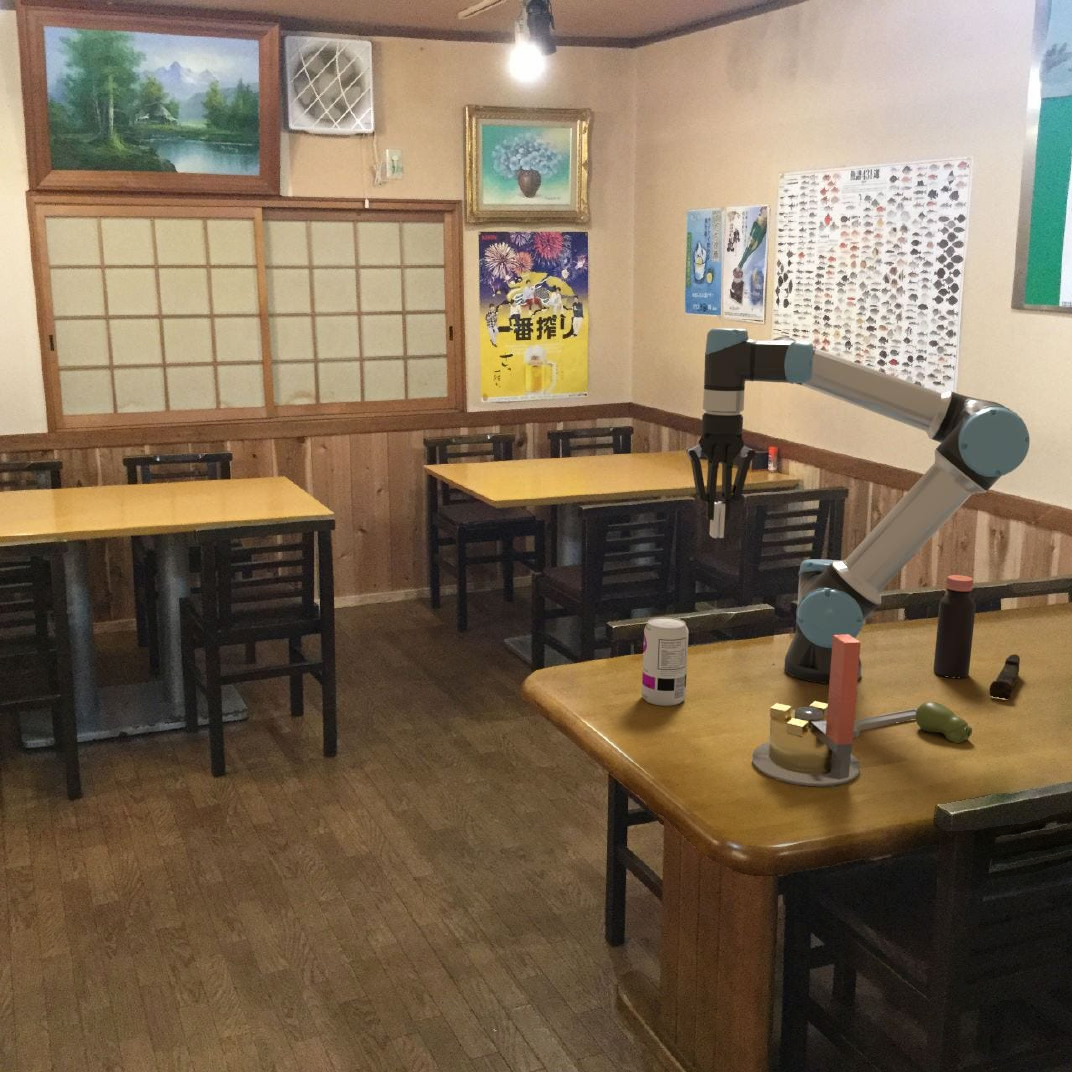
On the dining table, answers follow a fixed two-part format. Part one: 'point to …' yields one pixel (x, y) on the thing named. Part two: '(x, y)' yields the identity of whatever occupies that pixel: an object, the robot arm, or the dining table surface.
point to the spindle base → (841, 772)
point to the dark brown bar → (1006, 678)
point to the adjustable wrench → (883, 720)
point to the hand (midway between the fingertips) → (716, 536)
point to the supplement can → (665, 661)
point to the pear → (942, 722)
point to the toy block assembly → (815, 743)
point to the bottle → (955, 628)
